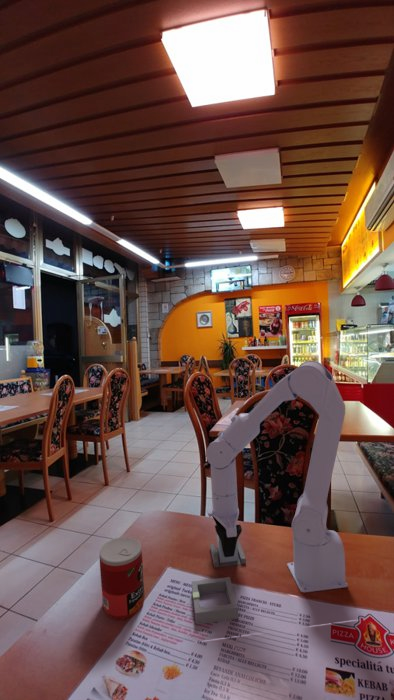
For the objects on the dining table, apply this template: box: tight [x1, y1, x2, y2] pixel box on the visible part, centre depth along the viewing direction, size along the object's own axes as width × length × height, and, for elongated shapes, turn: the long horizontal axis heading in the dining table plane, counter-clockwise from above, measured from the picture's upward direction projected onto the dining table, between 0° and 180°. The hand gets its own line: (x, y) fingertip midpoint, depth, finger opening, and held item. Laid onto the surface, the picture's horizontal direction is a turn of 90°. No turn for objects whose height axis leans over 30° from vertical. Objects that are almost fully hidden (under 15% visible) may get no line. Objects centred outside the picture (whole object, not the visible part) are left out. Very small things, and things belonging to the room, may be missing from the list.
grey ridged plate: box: [209, 540, 247, 568], centre depth 77 cm, size 7×6×1 cm
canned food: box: [99, 536, 145, 620], centre depth 65 cm, size 8×8×11 cm
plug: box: [215, 531, 238, 563], centre depth 77 cm, size 4×4×7 cm
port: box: [191, 576, 239, 625], centre depth 64 cm, size 8×8×2 cm
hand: (227, 549), depth 77 cm, fingers closed on plug, 4 cm apart
